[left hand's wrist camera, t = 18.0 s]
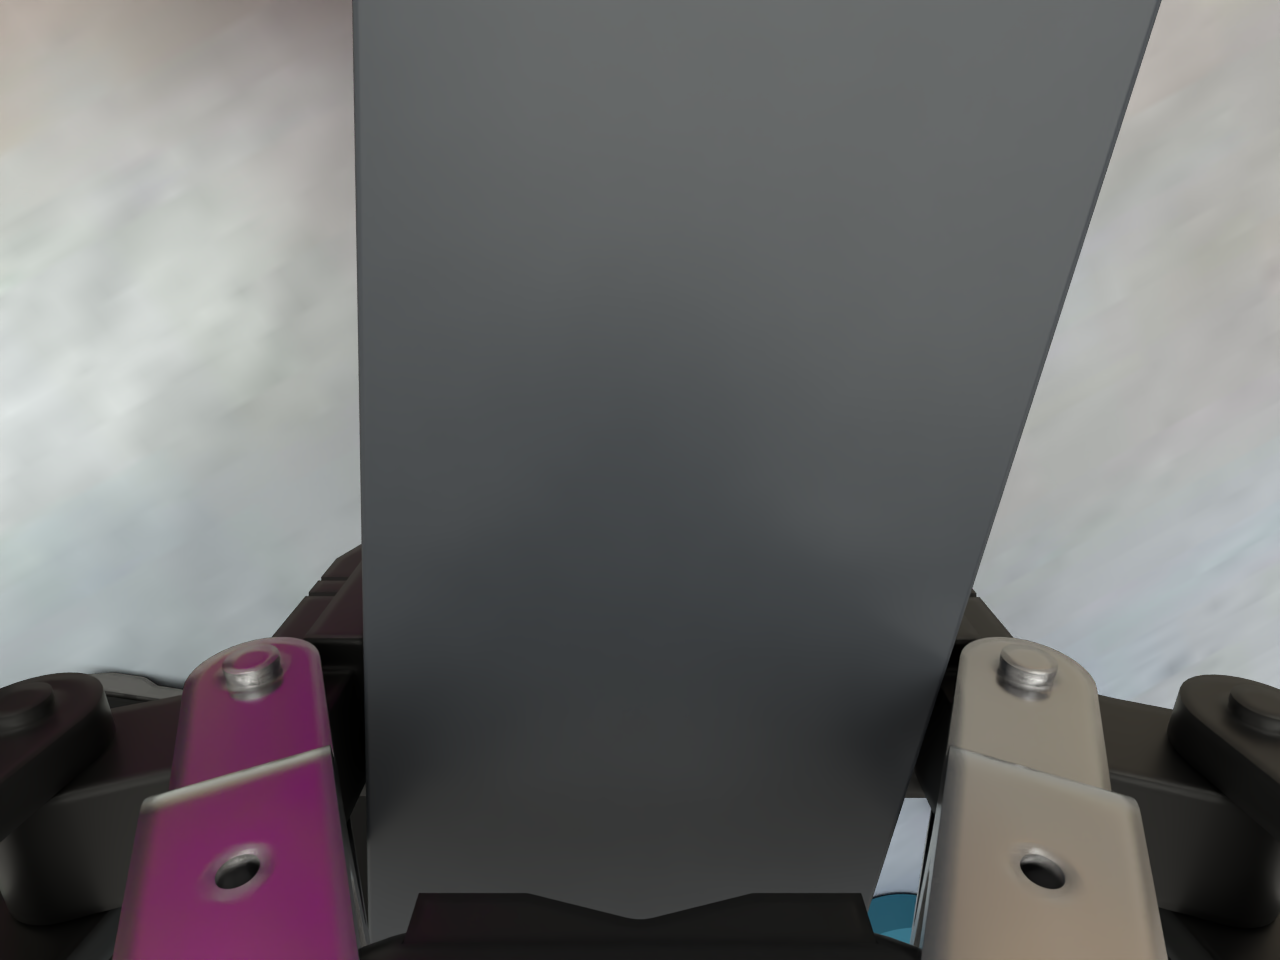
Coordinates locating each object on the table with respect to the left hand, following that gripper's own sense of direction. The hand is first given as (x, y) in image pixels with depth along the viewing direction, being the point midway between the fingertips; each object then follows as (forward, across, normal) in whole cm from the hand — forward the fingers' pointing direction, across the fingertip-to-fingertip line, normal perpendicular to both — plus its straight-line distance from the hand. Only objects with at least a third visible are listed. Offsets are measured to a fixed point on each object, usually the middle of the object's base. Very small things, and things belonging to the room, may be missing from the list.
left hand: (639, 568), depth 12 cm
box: (+6, -1, -9) cm, 11 cm away
